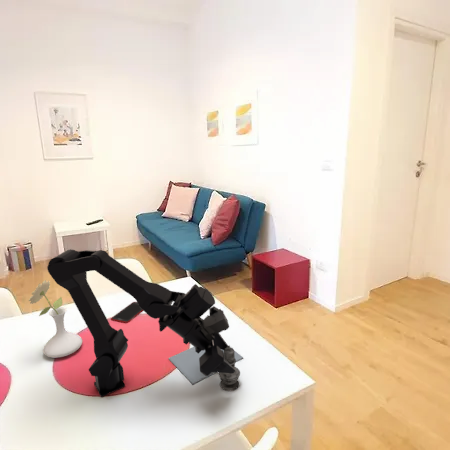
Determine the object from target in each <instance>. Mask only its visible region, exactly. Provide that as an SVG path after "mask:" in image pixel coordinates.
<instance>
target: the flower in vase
mask: <svg viewBox="0 0 450 450" xmlns="http://www.w3.org/2000/svg"><path fill="white" fill-rule="evenodd" d="M50 285H51V282H50V280H47V279H46V280H43V281H42V283H39V284H38V285H37V286H36V287H35V290H34V291H32V292H31V296H30V298H29V300H28V302H29V304H30V305H31V304H37V302H39V301H40V300H41V299H43V297H44V298H45V299H46V301H47V302H48V304H49V306H47V307H44V308H43V309H42V310H41V311H40V313H39V315H38V316H39V317H40V316H42V315H46V314H47V313H48V315H49V316H51V318H52V319H53V320H54V323H55V327H56V333H55V334H54V335H53V336H52V337H51V338H49V340H48V341H47V342H46V343H45V344H44V345H43V349H42V352H43V354H44V355H45V356H46V357H48V358H55V359H57V358H63V357H67V356H69V355H71V354H73V353H76V352H77V350H79V349H80V347H81V346H82V345H83V339H82V337H81V336H80V335H79V334H77V333H74V332H72V331H71V332H70V331H68V330H66V328H65V322H64V321H65V320H64V318H65V314H66V312H67V311H68V310H67V307H62V306H63V297H62V296H60V297H59V298H57V299H56V301H54V302H53V303H52V304H51V302H50V301H49V299H48V296H46V294H47V292H48V291H49V289H50ZM50 309H51V310H50Z"/></svg>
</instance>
